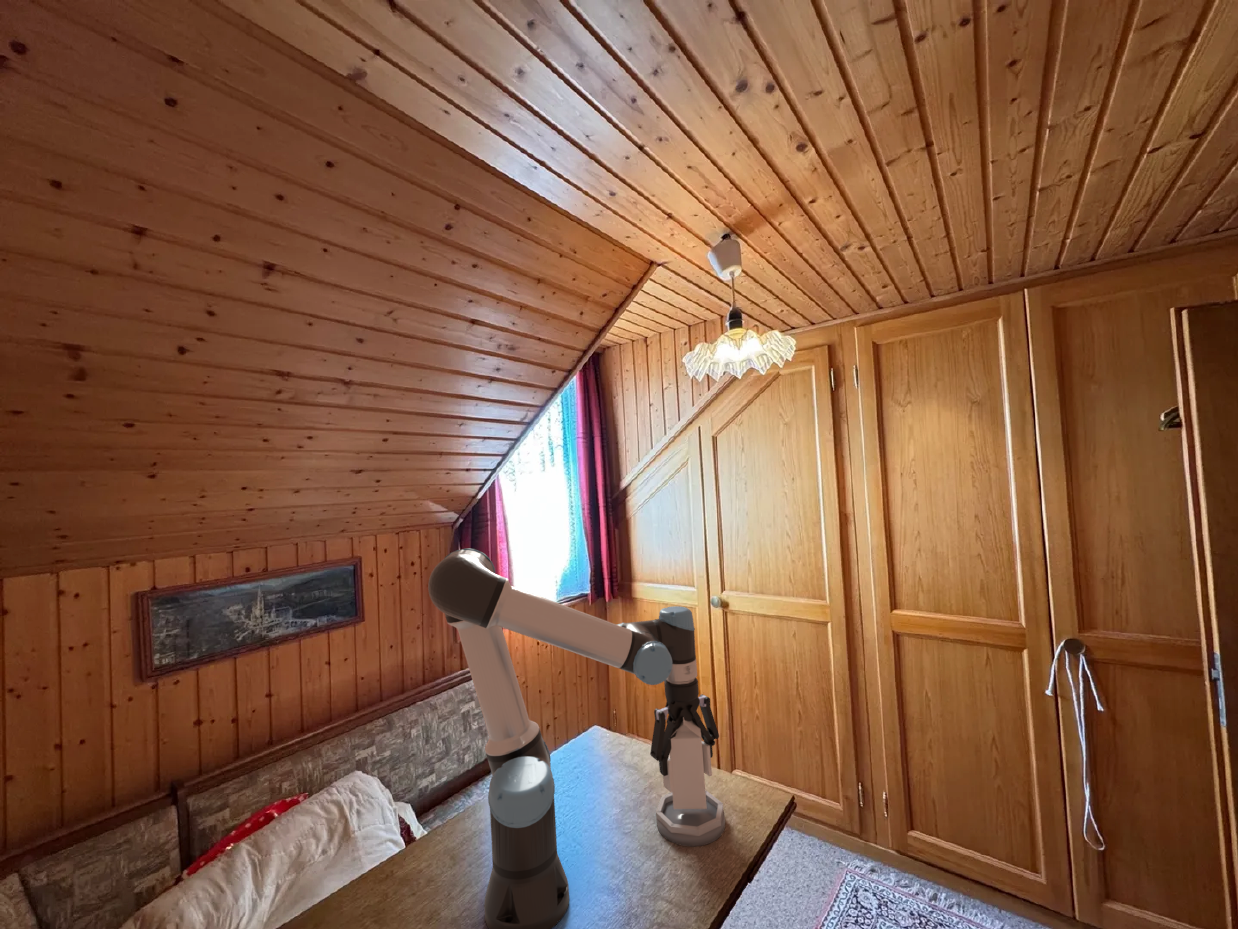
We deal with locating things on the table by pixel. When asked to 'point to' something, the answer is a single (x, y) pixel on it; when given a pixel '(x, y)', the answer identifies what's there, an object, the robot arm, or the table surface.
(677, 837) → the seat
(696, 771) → the milk carton
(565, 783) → the table surface
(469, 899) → the table surface
